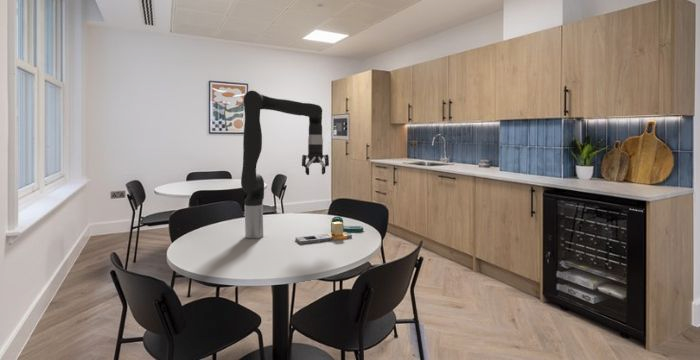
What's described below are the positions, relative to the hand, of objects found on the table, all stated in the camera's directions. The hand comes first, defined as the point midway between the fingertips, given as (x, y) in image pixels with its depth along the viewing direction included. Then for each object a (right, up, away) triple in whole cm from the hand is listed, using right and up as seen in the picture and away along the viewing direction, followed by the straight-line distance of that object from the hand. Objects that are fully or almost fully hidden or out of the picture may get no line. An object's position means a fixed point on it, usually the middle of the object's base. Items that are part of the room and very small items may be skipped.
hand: (315, 174), depth 206 cm
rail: (+5, -33, -4) cm, 34 cm away
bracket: (+17, -32, +14) cm, 39 cm away
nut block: (+12, -33, -1) cm, 35 cm away
